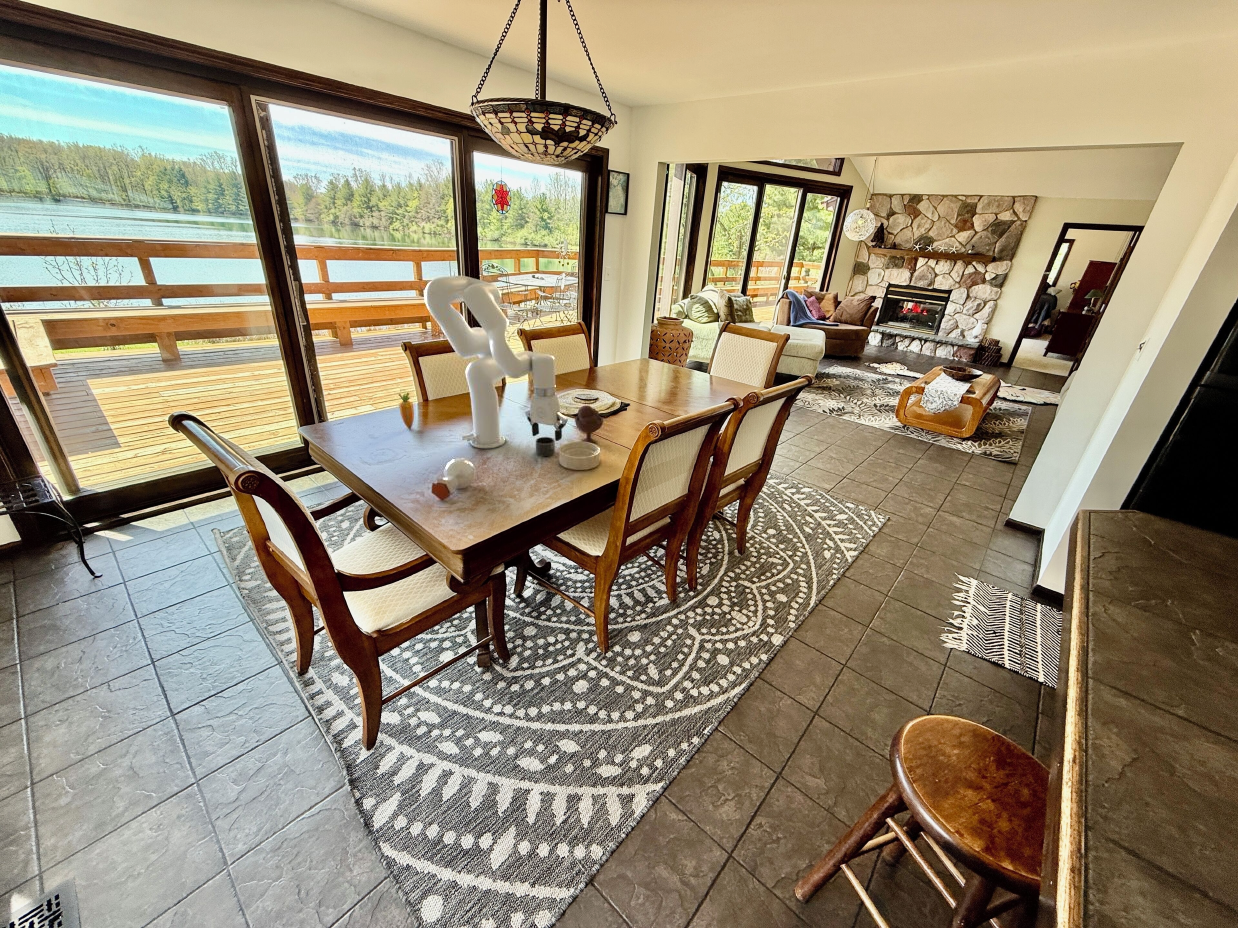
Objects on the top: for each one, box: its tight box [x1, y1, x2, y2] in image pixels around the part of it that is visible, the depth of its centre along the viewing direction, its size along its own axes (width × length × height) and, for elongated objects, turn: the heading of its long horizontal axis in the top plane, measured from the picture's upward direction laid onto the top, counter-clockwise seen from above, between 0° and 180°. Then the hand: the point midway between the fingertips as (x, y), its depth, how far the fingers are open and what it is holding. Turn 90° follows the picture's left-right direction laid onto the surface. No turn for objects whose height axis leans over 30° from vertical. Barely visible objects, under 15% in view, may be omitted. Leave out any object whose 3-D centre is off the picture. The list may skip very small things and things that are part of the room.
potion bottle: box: [431, 457, 477, 501], centre depth 145 cm, size 9×10×15 cm
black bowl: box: [535, 436, 556, 457], centre depth 174 cm, size 7×7×5 cm
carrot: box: [397, 391, 415, 430], centre depth 186 cm, size 5×5×15 cm
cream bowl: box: [558, 440, 601, 471], centre depth 168 cm, size 14×14×5 cm
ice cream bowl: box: [574, 404, 604, 445], centre depth 183 cm, size 11×11×15 cm
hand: (547, 437), depth 172 cm, fingers open, 9 cm apart
